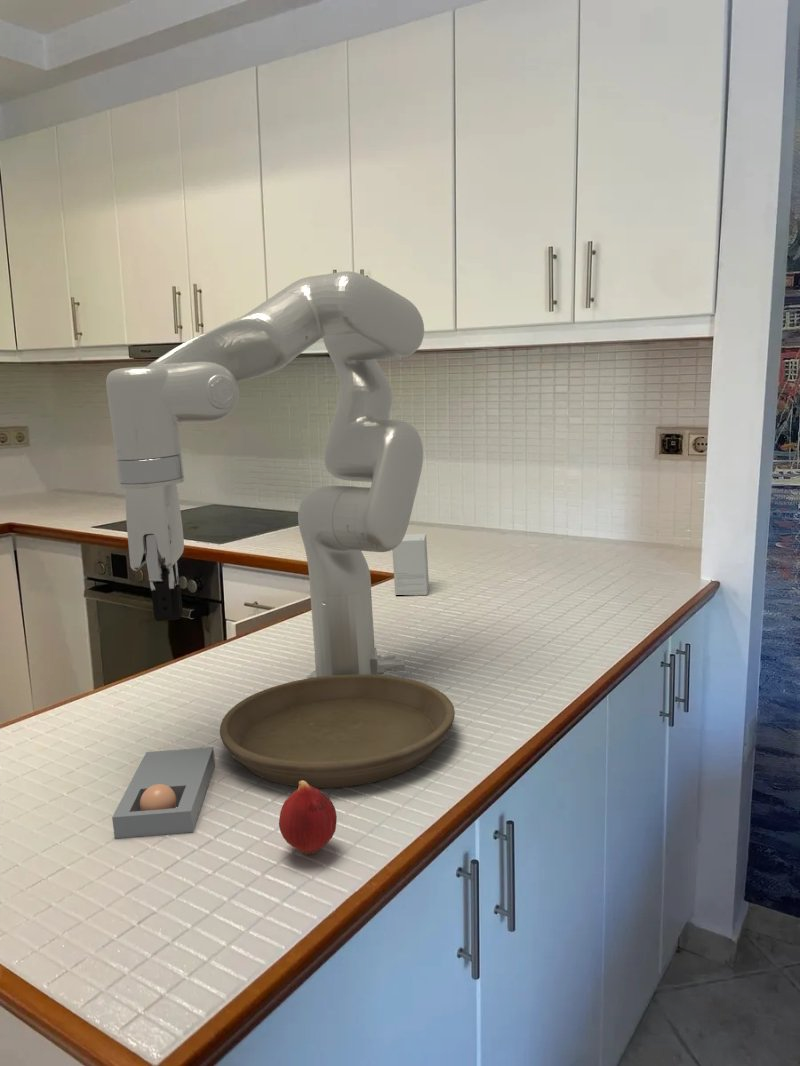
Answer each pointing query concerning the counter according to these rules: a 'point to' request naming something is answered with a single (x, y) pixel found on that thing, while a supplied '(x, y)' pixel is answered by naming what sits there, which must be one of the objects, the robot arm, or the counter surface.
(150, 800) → the ball
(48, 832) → the counter surface
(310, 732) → the plant saucer
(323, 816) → the onion
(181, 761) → the block
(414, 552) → the supplement box
